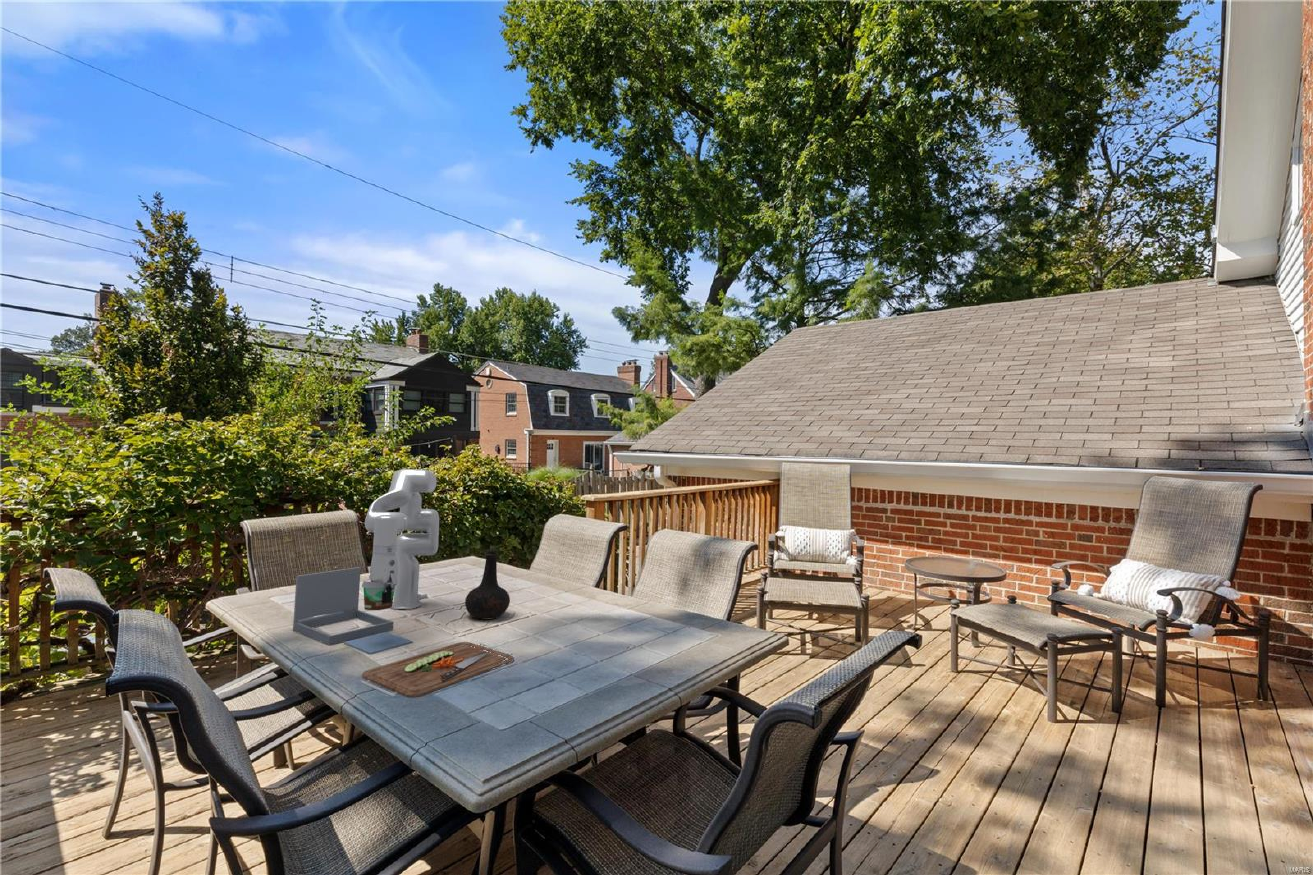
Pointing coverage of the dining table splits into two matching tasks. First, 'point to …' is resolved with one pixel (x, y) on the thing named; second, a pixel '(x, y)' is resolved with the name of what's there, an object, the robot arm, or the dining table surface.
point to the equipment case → (332, 605)
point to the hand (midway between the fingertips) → (381, 600)
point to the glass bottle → (488, 592)
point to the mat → (378, 642)
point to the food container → (375, 596)
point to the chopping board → (435, 669)
